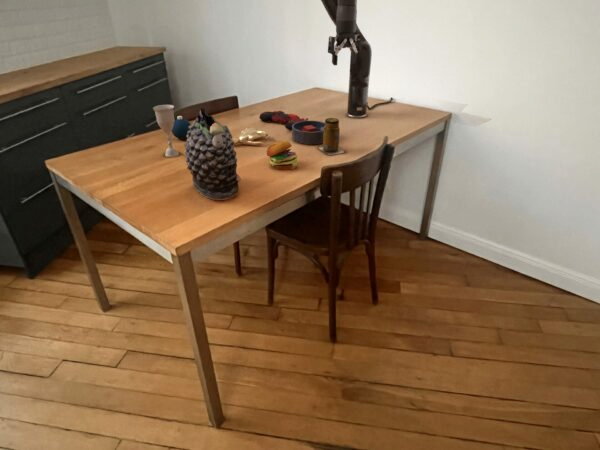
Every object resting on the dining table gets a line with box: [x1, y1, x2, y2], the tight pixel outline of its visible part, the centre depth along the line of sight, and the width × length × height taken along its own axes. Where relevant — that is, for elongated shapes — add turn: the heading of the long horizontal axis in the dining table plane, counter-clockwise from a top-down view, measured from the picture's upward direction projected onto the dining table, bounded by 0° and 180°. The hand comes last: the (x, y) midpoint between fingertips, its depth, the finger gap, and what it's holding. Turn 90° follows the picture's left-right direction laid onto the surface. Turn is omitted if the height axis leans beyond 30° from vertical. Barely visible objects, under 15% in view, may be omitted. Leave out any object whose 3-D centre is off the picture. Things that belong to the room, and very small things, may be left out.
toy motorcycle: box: [259, 110, 309, 131], centre depth 186 cm, size 25×5×16 cm
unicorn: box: [232, 127, 271, 146], centre depth 167 cm, size 20×4×17 cm
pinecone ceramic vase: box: [183, 107, 242, 201], centre depth 123 cm, size 21×15×25 cm
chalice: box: [152, 104, 180, 158], centre depth 150 cm, size 7×7×18 cm
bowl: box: [291, 120, 325, 145], centre depth 168 cm, size 15×15×6 cm
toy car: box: [301, 125, 316, 132], centre depth 168 cm, size 8×4×4 cm, turn 29°
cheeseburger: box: [266, 140, 298, 170], centre depth 144 cm, size 10×11×10 cm
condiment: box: [318, 117, 345, 156], centre depth 155 cm, size 7×8×12 cm
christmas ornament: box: [171, 115, 192, 140], centre depth 167 cm, size 8×8×10 cm
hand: (343, 64), depth 162 cm, fingers open, 8 cm apart
